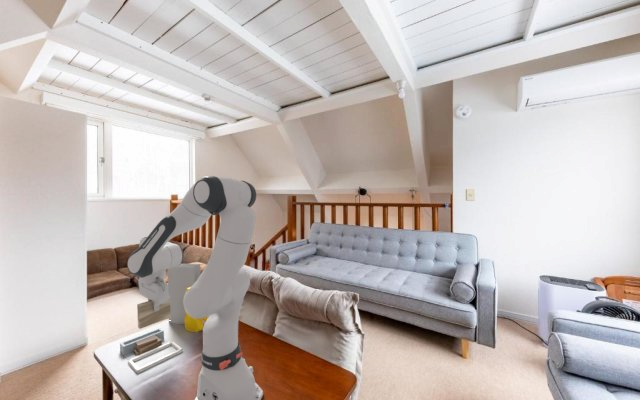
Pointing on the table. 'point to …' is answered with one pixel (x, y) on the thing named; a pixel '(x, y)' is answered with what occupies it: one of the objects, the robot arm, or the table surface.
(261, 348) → the table surface
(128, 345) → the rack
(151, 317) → the maple sheet
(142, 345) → the offcut
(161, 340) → the offcut
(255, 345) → the table surface
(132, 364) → the tray
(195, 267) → the grey tall block
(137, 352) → the offcut
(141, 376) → the table surface
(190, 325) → the figure statuette
